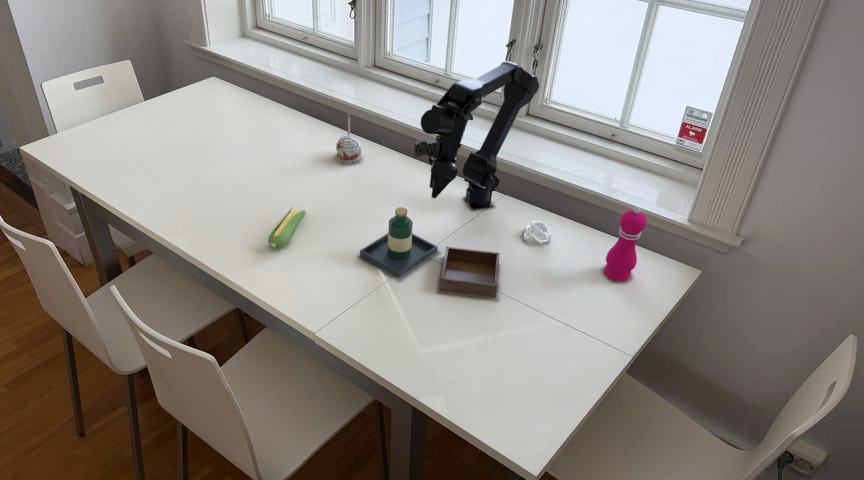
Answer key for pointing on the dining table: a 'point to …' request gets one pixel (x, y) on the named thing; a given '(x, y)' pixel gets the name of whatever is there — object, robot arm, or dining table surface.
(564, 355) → the dining table surface
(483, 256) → the crate
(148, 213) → the dining table surface
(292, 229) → the edible corn
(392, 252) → the bottle
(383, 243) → the tray
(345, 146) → the decorative ornament
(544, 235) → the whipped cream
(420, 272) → the dining table surface
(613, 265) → the pepper mill
